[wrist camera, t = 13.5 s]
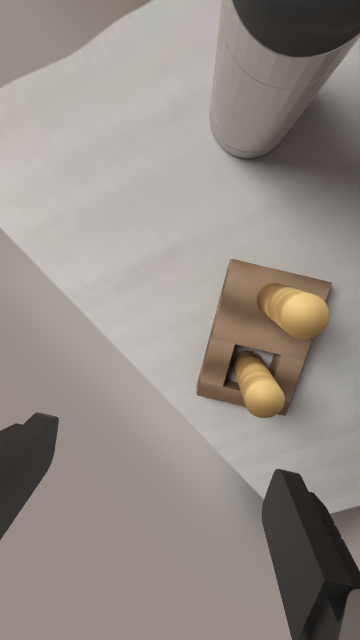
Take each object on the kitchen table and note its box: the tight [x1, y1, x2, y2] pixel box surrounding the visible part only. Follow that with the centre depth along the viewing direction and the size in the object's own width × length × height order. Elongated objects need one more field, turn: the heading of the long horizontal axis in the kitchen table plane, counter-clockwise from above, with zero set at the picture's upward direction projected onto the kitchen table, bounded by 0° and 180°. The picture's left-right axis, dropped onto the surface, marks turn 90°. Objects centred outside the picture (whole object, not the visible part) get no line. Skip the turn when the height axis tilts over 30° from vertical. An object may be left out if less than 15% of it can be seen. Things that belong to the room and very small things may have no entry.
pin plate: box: [197, 259, 332, 416], centre depth 32 cm, size 18×12×12 cm, turn 167°
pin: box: [232, 350, 285, 418], centre depth 34 cm, size 4×4×10 cm
